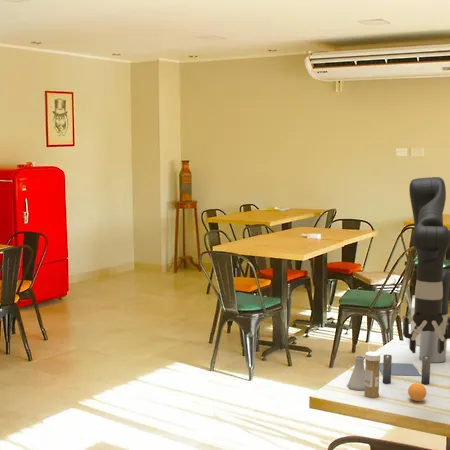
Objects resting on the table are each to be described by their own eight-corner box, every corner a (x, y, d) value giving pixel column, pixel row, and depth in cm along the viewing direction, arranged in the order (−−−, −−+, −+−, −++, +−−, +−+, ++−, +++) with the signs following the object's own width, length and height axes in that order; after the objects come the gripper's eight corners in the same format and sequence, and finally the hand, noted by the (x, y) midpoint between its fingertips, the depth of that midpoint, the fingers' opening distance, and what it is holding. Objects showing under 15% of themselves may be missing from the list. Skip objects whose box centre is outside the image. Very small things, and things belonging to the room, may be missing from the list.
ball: (406, 397, 219) (406, 380, 218) (423, 397, 218) (424, 380, 218) (409, 403, 213) (410, 386, 213) (428, 404, 213) (428, 386, 212)
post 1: (381, 381, 233) (382, 354, 232) (389, 381, 233) (390, 354, 232) (383, 383, 231) (384, 356, 230) (391, 384, 231) (392, 357, 230)
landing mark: (375, 363, 252) (375, 362, 252) (412, 364, 252) (412, 363, 252) (381, 375, 239) (381, 374, 239) (420, 376, 239) (420, 375, 239)
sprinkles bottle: (381, 397, 218) (383, 354, 217) (367, 398, 217) (369, 355, 216) (375, 392, 223) (376, 350, 221) (361, 393, 222) (362, 351, 220)
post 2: (420, 382, 233) (421, 355, 232) (428, 382, 233) (429, 355, 232) (422, 384, 230) (423, 357, 229) (430, 384, 230) (431, 357, 229)
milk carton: (428, 347, 273) (431, 298, 271) (409, 345, 276) (411, 297, 273) (429, 342, 280) (431, 294, 278) (411, 340, 282) (413, 293, 280)
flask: (370, 392, 223) (371, 361, 222) (346, 390, 225) (347, 359, 224) (370, 384, 230) (371, 354, 229) (347, 382, 232) (348, 352, 231)
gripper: (450, 293, 206) (448, 349, 208) (400, 292, 207) (398, 348, 208) (457, 299, 198) (455, 357, 200) (405, 298, 199) (403, 355, 201)
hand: (426, 352), depth 204 cm, fingers open, 7 cm apart
